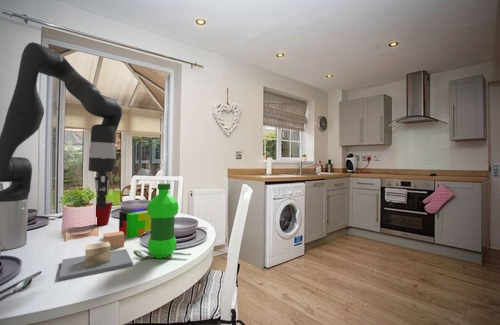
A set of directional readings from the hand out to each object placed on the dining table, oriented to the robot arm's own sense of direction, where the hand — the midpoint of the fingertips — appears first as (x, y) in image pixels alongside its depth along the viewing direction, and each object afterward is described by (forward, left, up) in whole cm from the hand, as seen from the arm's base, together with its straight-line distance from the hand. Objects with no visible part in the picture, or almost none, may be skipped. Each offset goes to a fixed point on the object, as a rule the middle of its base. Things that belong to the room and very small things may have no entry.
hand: (100, 206), depth 78 cm
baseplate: (-1, -3, -18) cm, 18 cm away
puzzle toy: (+15, +27, -18) cm, 36 cm away
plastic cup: (+3, +52, -18) cm, 55 cm away
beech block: (-1, -3, -17) cm, 17 cm away
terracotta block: (+5, +13, -18) cm, 23 cm away
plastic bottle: (+18, -6, -18) cm, 26 cm away
